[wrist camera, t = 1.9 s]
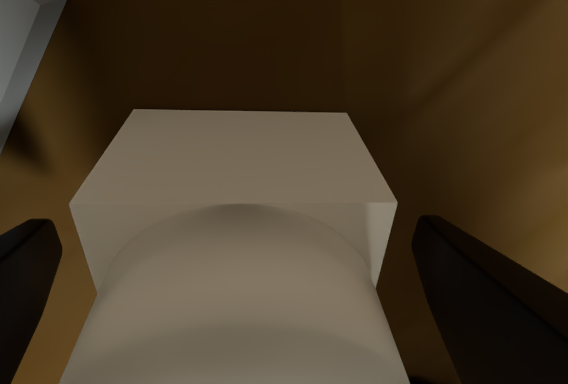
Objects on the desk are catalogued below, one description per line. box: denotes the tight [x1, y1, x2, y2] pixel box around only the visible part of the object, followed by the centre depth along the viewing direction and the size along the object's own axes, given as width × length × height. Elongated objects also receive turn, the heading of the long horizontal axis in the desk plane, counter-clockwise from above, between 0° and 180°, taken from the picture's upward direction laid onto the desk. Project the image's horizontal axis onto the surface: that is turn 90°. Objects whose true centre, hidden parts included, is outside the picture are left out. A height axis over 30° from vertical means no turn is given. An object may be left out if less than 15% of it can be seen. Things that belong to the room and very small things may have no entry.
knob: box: [59, 109, 410, 384], centre depth 8 cm, size 5×5×6 cm
